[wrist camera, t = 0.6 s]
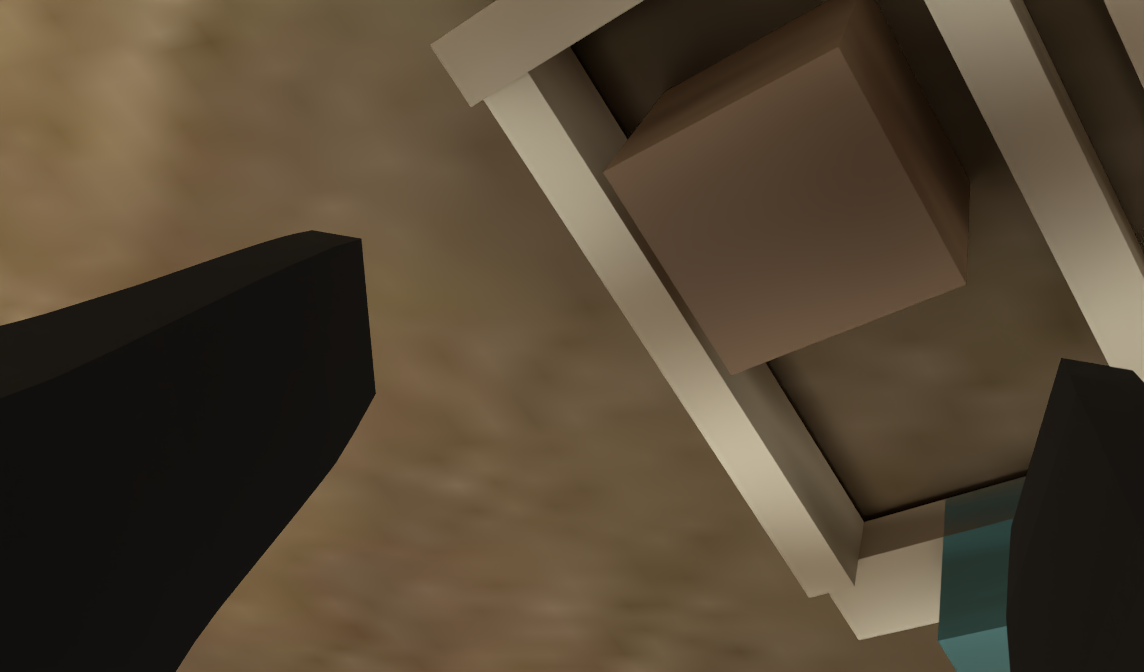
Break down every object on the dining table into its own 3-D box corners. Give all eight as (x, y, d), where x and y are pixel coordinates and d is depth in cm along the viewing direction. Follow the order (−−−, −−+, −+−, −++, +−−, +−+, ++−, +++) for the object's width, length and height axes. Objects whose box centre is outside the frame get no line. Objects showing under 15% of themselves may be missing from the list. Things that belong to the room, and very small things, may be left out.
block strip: (1263, 503, 20) (1316, 664, 17) (864, 600, 24) (844, 744, 21) (894, -269, 16) (870, -253, 13) (486, 6, 20) (389, 72, 17)
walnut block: (970, 180, 19) (966, 284, 16) (770, 267, 21) (731, 375, 18) (865, -22, 18) (837, 46, 15) (665, 91, 20) (602, 172, 17)
